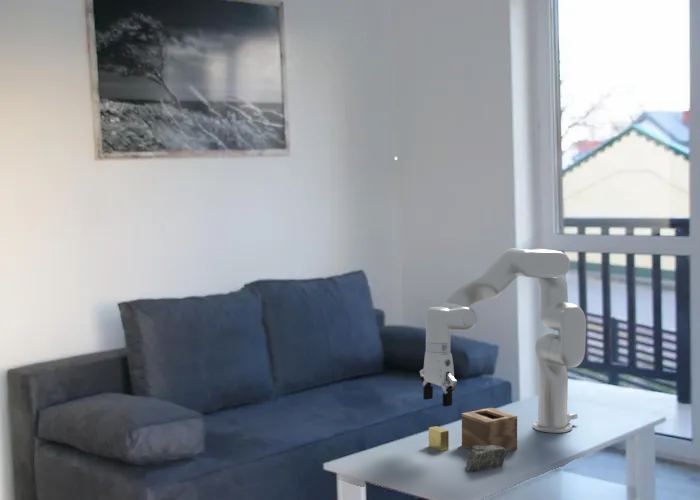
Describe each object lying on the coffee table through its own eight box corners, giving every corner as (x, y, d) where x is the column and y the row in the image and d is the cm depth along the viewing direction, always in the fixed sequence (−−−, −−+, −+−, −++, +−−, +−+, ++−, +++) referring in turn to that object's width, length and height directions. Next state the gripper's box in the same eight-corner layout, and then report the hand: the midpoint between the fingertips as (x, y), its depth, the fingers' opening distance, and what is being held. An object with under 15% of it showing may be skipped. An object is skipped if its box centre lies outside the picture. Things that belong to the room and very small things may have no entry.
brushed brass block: (436, 444, 285) (436, 426, 284) (448, 449, 280) (448, 430, 279) (428, 446, 283) (428, 427, 283) (440, 451, 278) (440, 432, 278)
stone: (482, 472, 270) (497, 442, 271) (499, 483, 265) (514, 452, 265) (452, 461, 262) (468, 430, 263) (468, 472, 256) (484, 440, 257)
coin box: (491, 438, 290) (491, 407, 289) (517, 448, 280) (517, 416, 279) (461, 445, 284) (461, 413, 283) (486, 455, 274) (487, 422, 273)
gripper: (465, 350, 273) (464, 406, 275) (430, 341, 288) (430, 394, 289) (445, 353, 269) (445, 410, 271) (411, 344, 284) (411, 398, 286)
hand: (437, 402), depth 280 cm, fingers open, 9 cm apart
